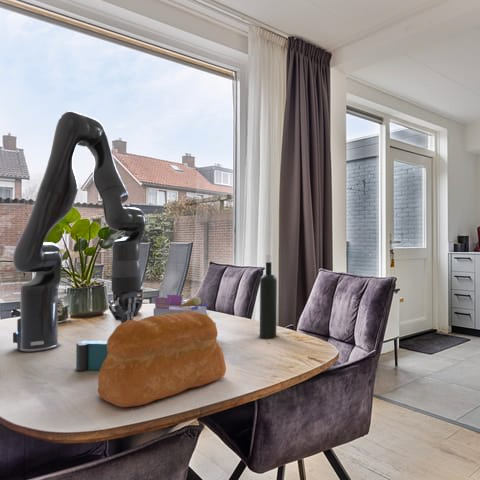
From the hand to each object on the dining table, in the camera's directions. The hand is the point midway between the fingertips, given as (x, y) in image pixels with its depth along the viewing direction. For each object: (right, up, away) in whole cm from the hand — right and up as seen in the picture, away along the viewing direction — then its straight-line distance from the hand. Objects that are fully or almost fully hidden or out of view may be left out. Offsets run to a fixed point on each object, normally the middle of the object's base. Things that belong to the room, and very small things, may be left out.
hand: (126, 333), depth 120 cm
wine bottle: (+36, -7, +25) cm, 45 cm away
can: (+3, -7, +29) cm, 30 cm away
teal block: (-1, -7, -10) cm, 12 cm away
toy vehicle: (+9, -7, +20) cm, 23 cm away
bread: (+23, -8, -23) cm, 33 cm away
